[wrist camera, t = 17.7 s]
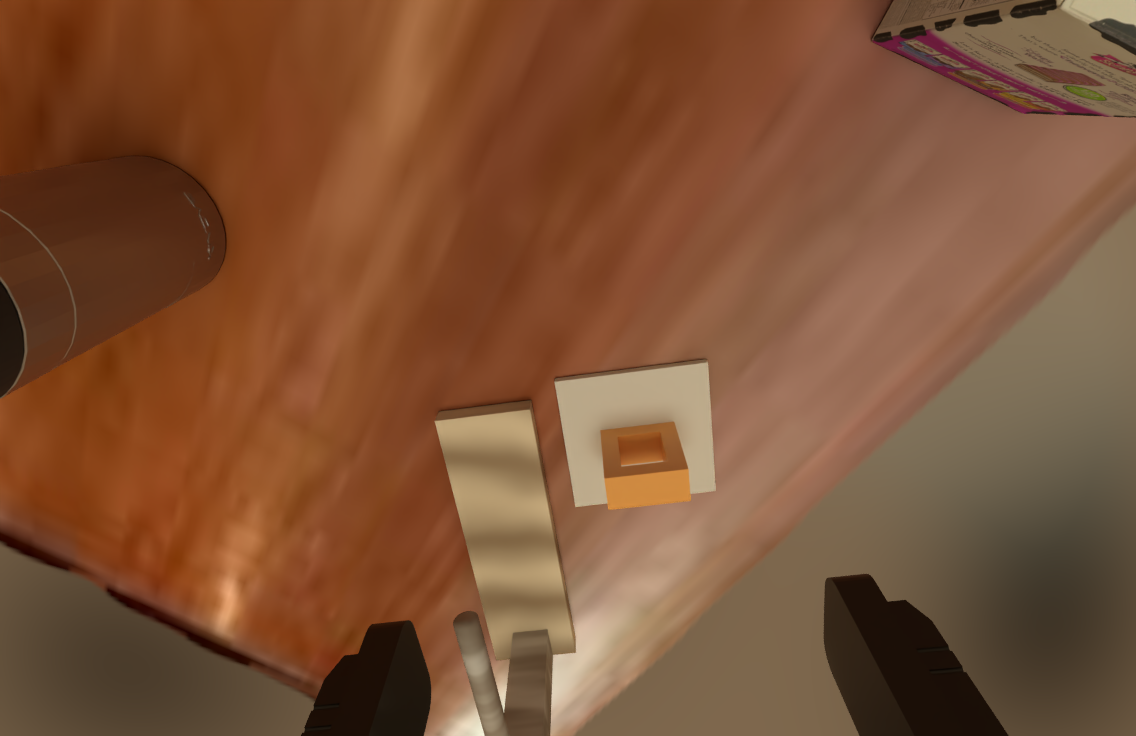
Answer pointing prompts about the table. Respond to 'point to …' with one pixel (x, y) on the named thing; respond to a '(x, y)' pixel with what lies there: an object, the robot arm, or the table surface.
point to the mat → (635, 419)
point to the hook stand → (508, 562)
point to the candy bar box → (1025, 50)
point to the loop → (644, 466)
